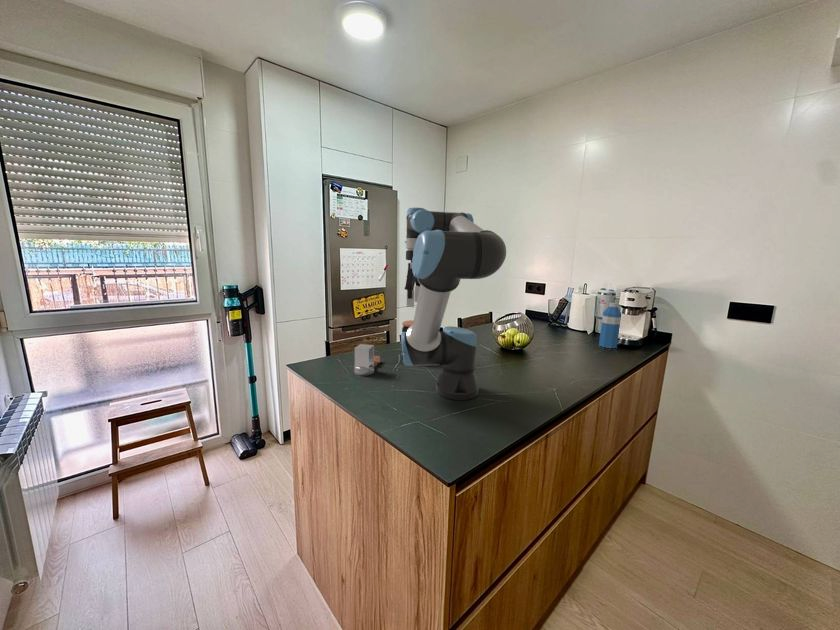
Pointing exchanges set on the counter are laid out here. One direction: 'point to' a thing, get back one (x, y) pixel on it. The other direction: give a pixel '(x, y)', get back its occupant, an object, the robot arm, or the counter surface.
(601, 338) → the water bottle
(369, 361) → the silver metal block
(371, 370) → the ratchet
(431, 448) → the counter surface
